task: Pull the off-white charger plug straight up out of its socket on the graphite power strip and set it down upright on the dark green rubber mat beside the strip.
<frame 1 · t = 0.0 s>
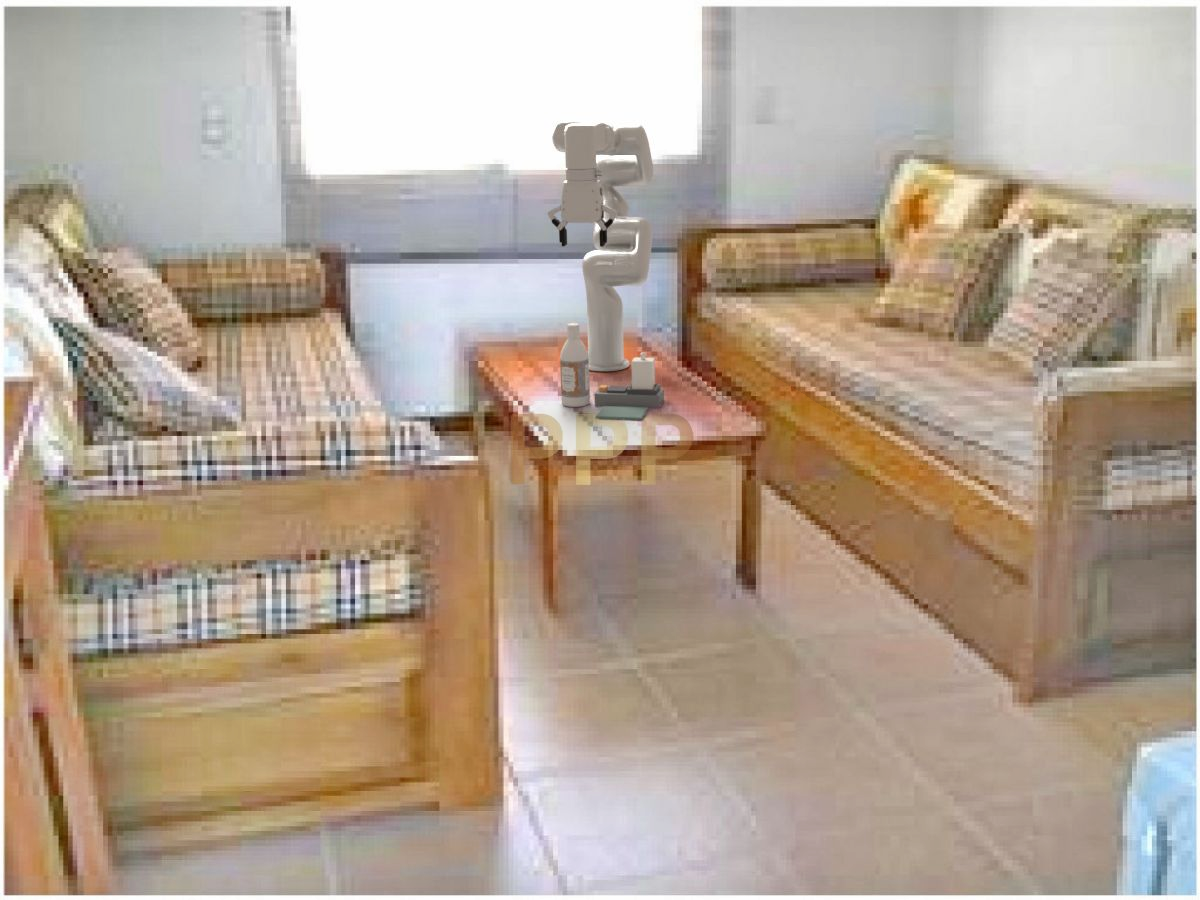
hand: (583, 245, 341), 37 cm above the table, tool pointing down, fingers open, 9 cm apart
mat: (622, 414, 330), on the table
charger: (643, 391, 338), point 3 cm above the table, touching power strip
power strip: (629, 402, 339), on the table
bath foam: (575, 404, 340), on the table
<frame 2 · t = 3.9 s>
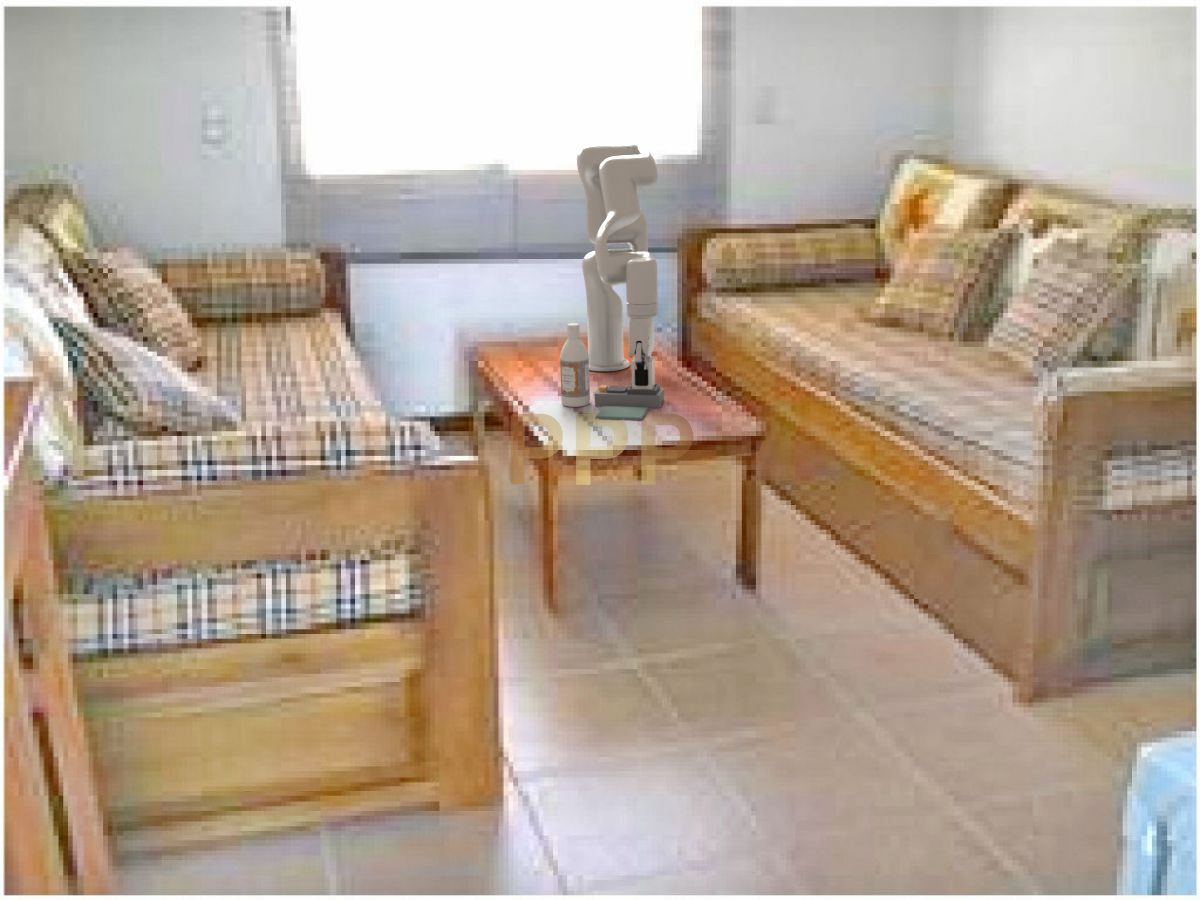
hand: (643, 382, 337), 5 cm above the table, tool pointing down, fingers closed on charger, 4 cm apart
charger: (643, 391, 338), point 3 cm above the table, touching gripper, power strip
everything else where it was.
when the fingers open (4 cm above the table, at t = 10.2 s): charger drops 2 cm, resting on mat.
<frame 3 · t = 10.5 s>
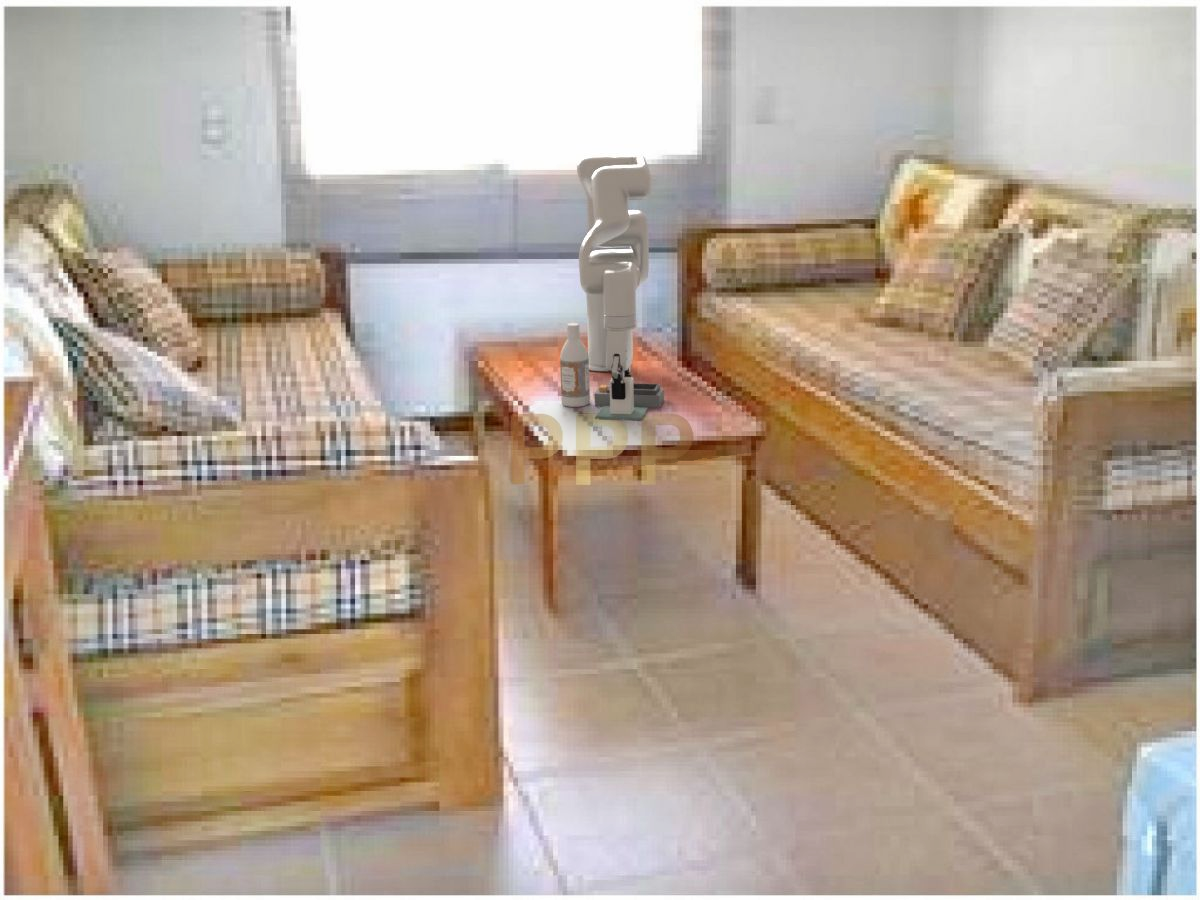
hand: (621, 394, 328), 5 cm above the table, tool pointing down, fingers open, 6 cm apart
charger: (622, 411, 330), point 1 cm above the table, touching mat
everything else where it was.
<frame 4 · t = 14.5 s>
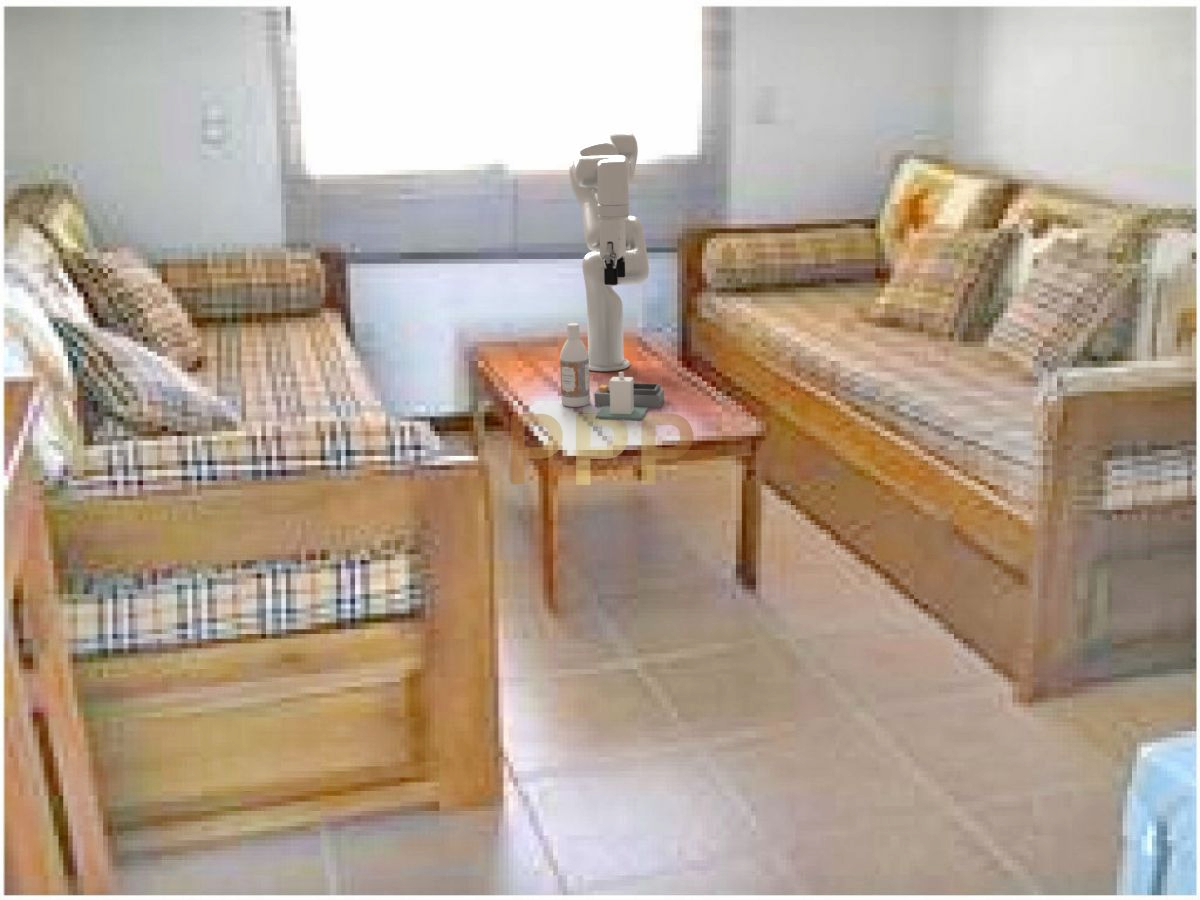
hand: (615, 280, 341), 28 cm above the table, tool pointing down, fingers open, 9 cm apart
nothing on the table moved.
at the end: charger inside the target area on the mat (0.1 cm from its centre), point 0.6 cm above the mat's base; charger tilted 0°; the gripper is holding nothing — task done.
